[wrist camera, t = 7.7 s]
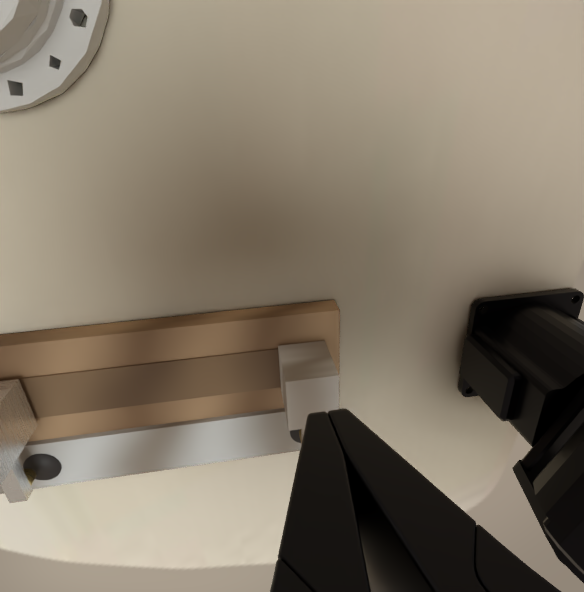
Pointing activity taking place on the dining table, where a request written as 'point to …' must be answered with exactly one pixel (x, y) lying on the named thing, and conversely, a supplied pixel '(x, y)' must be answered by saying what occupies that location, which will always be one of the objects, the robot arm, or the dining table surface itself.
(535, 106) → the dining table surface
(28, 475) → the block
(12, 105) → the mechanical component
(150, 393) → the board
